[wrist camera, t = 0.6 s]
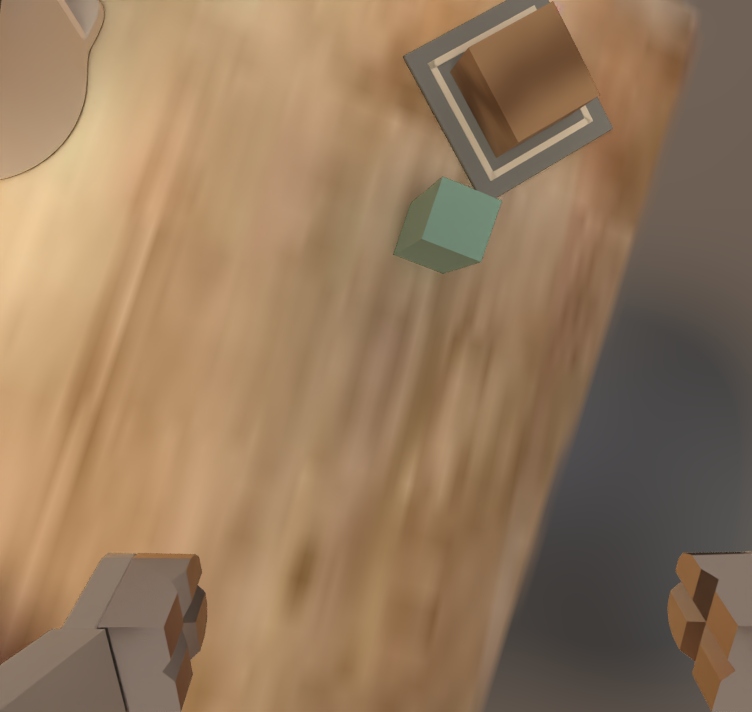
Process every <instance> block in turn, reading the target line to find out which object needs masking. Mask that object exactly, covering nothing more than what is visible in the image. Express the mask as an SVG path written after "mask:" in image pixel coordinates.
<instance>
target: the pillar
mask: <svg viewBox="0 0 752 712" xmlns="http://www.w3.org/2000/svg"><path fill="white" fill-rule="evenodd" d="M501 202H502V201H501V200H499V199H496V198H494V197H491V196H489V195H487V194H484V193H482V192H479V191H477V190H475V189H472V188H470V187H467V186H465V185H462V184H460V183H458V182H455V181H453V180H450V179H448V178H445V177H442V178H440V179H439V180H438V181H437V182H436V183H434V184H433V185H432V186H431V187H430V188H428V189H427V190H426V191H425V192H424V193H422V194H421V195H420V196H419V197H417V198H416V199H415V200H414V201H413V202H411V204H410V207H409V210H408V213H407V216H406V219H405V222H404V225H403V228H402V231H401V234H400V237H399V240H398V243H397V245H396V248H395V251H394V254H393V255H396V256H399V257H401V258H404V259H406V260H409V261H412V262H414V263H417V264H420V265H422V266H425V267H427V268H430V269H433V270H435V271H438V272H441V273H447V272H450V271H453V270H457V269H460V268H463V267H466V266H470V265H473V264H476V263H480V262H481V261H482V258H483V255H484V252H485V249H486V246H487V243H488V240H489V237H490V235H491V232H492V229H493V226H494V223H495V220H496V217H497V214H498V211H499V208H500V205H501Z"/></svg>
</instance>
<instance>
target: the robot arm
mask: <svg viewBox="0 0 752 712" xmlns="http://www.w3.org/2000/svg"><path fill="white" fill-rule="evenodd" d="M103 19H104V9H103V6H102V4H101V2H100V1H99V0H0V179H4V178H8V177H11V176H15V175H17V174H20V173H22V172H25V171H27V170H29V169H31V168H33V167H34V166H36V165H38V164H39V163H41V162H42V161H44V160H45V159H46V158H48V157H49V156H50V155H51V154H53V153H54V152H55V151H56V150H57V149H58V148H59V147H60V146H61V145H62V143H63V142H64V141H65V140H66V138H67V137H68V136H69V134H70V133H71V131H72V129H73V128H74V126H75V124H76V122H77V120H78V118H79V115H80V113H81V110H82V107H83V103H84V99H85V93H86V85H87V62H88V55H89V50H90V48H91V47H92V45H93V43H94V41H95V39H96V37H97V35H98V33H99V31H100V28H101V26H102V23H103ZM676 573H677V574H678V576H679V578H680V579H681V582H680V583H679V584H678V585H677V586H676V587H675V588H673V589H672V590H671V591H670V596H669V601H668V606H667V607H668V618H669V625H670V628H671V632H672V635H673V637H674V639H675V641H676V644H677V645H678V647H679V650H681V651H682V652H683V653H685V654H686V655H687V656H688V657H690V658H691V659H692V660H694V661H695V665H694V669H693V672H692V675H693V677H694V678H695V681H696V682H697V684H698V686H699V688H700V690H701V692H702V694H703V695H704V698H705V700H706V701H707V703H708V705H709V707H710V709H711V711H713V712H716V711H717V712H752V551H745V552H684V553H683V554H682V555H681V557H680V558H679V559H678V563H677V567H676ZM201 574H202V569H201V564H200V559H199V557H198V556H197V555H195V554H162V553H138V554H130V553H108V554H107V555H105V556H104V557H103V558H102V559H101V560H100V562H99V563H98V565H97V567H96V569H95V570H94V572H93V574H92V576H91V577H90V579H89V581H88V583H87V584H86V586H85V588H84V589H83V591H82V593H81V595H80V596H79V598H78V600H77V602H76V603H75V605H74V607H73V608H72V610H71V612H70V614H69V615H68V617H67V619H66V621H65V622H64V624H63V626H62V628H61V629H51V630H50V631H48V632H47V633H45V634H44V635H42V636H41V637H40V638H38V639H37V640H35V641H34V642H32V643H31V644H29V645H28V646H27V647H25V648H24V649H22V650H21V651H19V652H18V653H17V654H15V655H14V656H12V657H11V658H9V659H8V660H6V661H5V662H4V663H2V664H1V665H0V712H181V710H182V707H183V704H184V701H185V698H186V695H187V691H188V688H189V685H190V682H191V679H192V676H193V672H192V666H191V661H190V660H191V659H192V658H193V657H194V656H195V655H196V654H197V653H198V652H199V651H200V650H201V647H202V643H203V640H204V636H205V630H206V623H207V600H206V593H205V592H204V591H203V590H202V589H201V588H200V587H199V586H198V583H199V580H200V577H201Z"/></svg>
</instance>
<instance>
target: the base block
mask: <svg viewBox="0 0 752 712" xmlns="http://www.w3.org/2000/svg"><path fill="white" fill-rule="evenodd" d="M450 73H451V74H452V76H453V78H454V80H455V82H456V84H457V86H458V88H459V89H460V91H461V93H462V95H463V97H464V99H465V101H466V103H467V104H468V106H469V108H470V110H471V112H472V114H473V116H474V118H475V119H476V121H477V123H478V125H479V127H480V129H481V131H482V132H483V134H484V136H485V138H486V140H487V142H488V144H489V146H490V147H491V149H492V151H493V153H494V155H495V157H496V158H497V157H499V156H501V155H503V154H504V153H506V152H508V151H509V150H511V149H513V148H515V147H516V146H518V145H520V144H521V143H523V142H525V141H527V140H528V139H530V138H532V137H533V136H535V135H537V134H539V133H540V132H542V131H544V130H546V129H547V128H549V127H551V126H552V125H554V124H556V123H558V122H559V121H561V120H563V119H564V118H566V117H568V116H570V115H571V114H573V113H574V112H576V111H577V110H579V109H580V108H582V107H583V106H585V105H586V104H588V103H589V102H590V101H592V100H593V99H595V98H596V97H598V96H599V95H600V93H599V91H598V89H597V87H596V85H595V83H594V81H593V79H592V77H591V75H590V73H589V71H588V69H587V67H586V65H585V63H584V61H583V59H582V57H581V55H580V53H579V51H578V49H577V47H576V45H575V43H574V41H573V39H572V37H571V35H570V33H569V31H568V29H567V27H566V25H565V23H564V21H563V19H562V17H561V16H560V14H559V12H558V10H557V8H556V6H555V4H554V2H553V1H552V2H551V3H549V4H547V5H545V6H543V7H541V8H540V9H538V10H536V11H534V12H532V13H530V14H529V15H527V16H525V17H523V18H521V19H519V20H518V21H516V22H514V23H512V24H510V25H509V26H507V27H505V28H503V29H501V30H499V31H498V32H496V33H494V34H492V35H490V36H488V37H487V38H485V39H483V40H481V41H479V42H477V43H476V44H474V45H472V46H470V47H468V49H467V50H466V51H465V53H464V54H463V55H462V57H461V58H460V59H459V61H458V62H457V63H456V65H455V66H454V67H453V69H452V70H451V71H450Z"/></svg>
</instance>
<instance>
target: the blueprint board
mask: <svg viewBox="0 0 752 712" xmlns="http://www.w3.org/2000/svg"><path fill="white" fill-rule="evenodd" d="M549 3H550V2H549V0H506V1H505V2H503V3H501V4H499V5H497V6H495V7H493V8H492V9H490V10H488V11H486V12H484V13H482V14H481V15H479V16H477V17H475V18H473V19H471V20H469V21H468V22H466V23H464V24H462V25H460V26H458V27H456V28H455V29H453V30H451V31H449V32H447V33H445V34H444V35H442V36H440V37H438V38H436V39H434V40H432V41H431V42H429V43H427V44H425V45H423V46H421V47H419V48H418V49H416V50H414V51H412V52H410V53H408V54H406V55H405V56H404V57H403V58H404V60H405V62H406V64H407V66H408V67H409V69H410V71H411V73H412V75H413V77H414V79H415V80H416V82H417V84H418V86H419V88H420V90H421V91H422V93H423V95H424V97H425V99H426V101H427V102H428V104H429V106H430V108H431V110H432V112H433V113H434V115H435V117H436V119H437V121H438V123H439V125H440V126H441V128H442V130H443V132H444V134H445V136H446V137H447V139H448V141H449V143H450V145H451V147H452V148H453V150H454V152H455V154H456V156H457V158H458V160H459V161H460V163H461V165H462V167H463V169H464V171H465V172H466V174H467V176H468V178H469V180H470V182H471V183H472V185H473V187H474V189H475V190H477V191H479V192H482V193H484V194H487V195H489V196H491V197H494V198H497V197H498V196H500V195H502V194H503V193H505V192H507V191H508V190H510V189H512V188H513V187H515V186H517V185H518V184H520V183H522V182H524V181H525V180H527V179H529V178H530V177H532V176H534V175H535V174H537V173H539V172H540V171H542V170H544V169H546V168H547V167H549V166H551V165H552V164H554V163H556V162H557V161H559V160H561V159H562V158H564V157H566V156H567V155H569V154H571V153H573V152H574V151H576V150H578V149H579V148H581V147H583V146H584V145H586V144H588V143H589V142H591V141H593V140H594V139H596V138H598V137H600V136H601V135H603V134H605V133H606V132H608V131H610V130H611V129H613V127H612V125H611V123H610V121H609V119H608V117H607V115H606V113H605V111H604V109H603V108H602V106H601V104H600V102H599V100H598V98H597V97H596V98H595V99H593V100H592V101H590V102H589V103H588V104H586V105H585V106H583V107H582V108H580V109H579V110H577V111H576V112H574V113H573V114H571V115H570V116H568V117H566V118H564V119H563V120H561V121H559V122H558V123H556V124H554V125H552V126H551V127H549V128H547V129H546V130H544V131H542V132H540V133H539V134H537V135H535V136H533V137H532V138H530V139H528V140H527V141H525V142H523V143H521V144H520V145H518V146H516V147H515V148H513V149H511V150H509V151H508V152H506V153H504V154H503V155H501V156H499V157H497V158H496V157H495V155H494V153H493V151H492V149H491V147H490V146H489V144H488V142H487V140H486V138H485V136H484V134H483V132H482V131H481V129H480V127H479V125H478V123H477V121H476V119H475V118H474V116H473V114H472V112H471V110H470V108H469V106H468V104H467V103H466V101H465V99H464V97H463V95H462V93H461V91H460V89H459V88H458V86H457V84H456V82H455V80H454V78H453V76H452V74H451V73H450V71H451V70H452V69H453V67H454V66H455V65H456V63H457V62H458V61H459V59H460V58H461V57H462V55H463V54H464V53H465V51H466V50H467V49H468V47H470V46H472V45H474V44H476V43H477V42H479V41H481V40H483V39H485V38H487V37H488V36H490V35H492V34H494V33H496V32H498V31H499V30H501V29H503V28H505V27H507V26H509V25H510V24H512V23H514V22H516V21H518V20H519V19H521V18H523V17H525V16H527V15H529V14H530V13H532V12H534V11H536V10H538V9H540V8H541V7H543V6H545V5H547V4H549Z"/></svg>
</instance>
